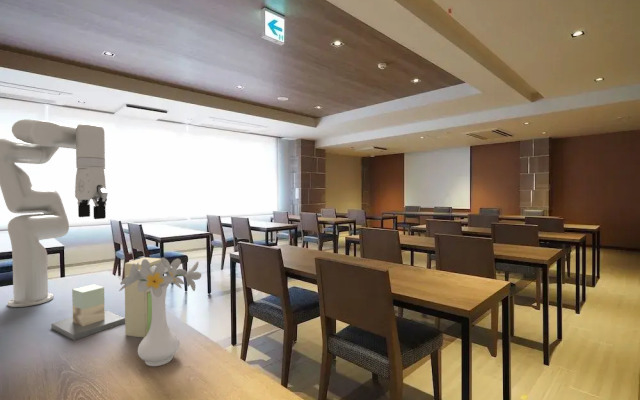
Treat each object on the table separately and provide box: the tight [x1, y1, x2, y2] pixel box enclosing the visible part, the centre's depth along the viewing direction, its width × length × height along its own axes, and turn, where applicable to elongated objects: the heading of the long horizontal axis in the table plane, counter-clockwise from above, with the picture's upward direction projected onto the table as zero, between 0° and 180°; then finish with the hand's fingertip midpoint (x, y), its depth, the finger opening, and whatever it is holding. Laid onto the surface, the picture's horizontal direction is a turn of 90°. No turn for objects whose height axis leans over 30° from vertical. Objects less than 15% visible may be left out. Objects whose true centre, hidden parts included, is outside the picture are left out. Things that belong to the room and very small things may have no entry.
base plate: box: [50, 309, 125, 341], centre depth 102 cm, size 14×14×2 cm
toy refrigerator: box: [123, 256, 164, 338], centre depth 98 cm, size 8×7×21 cm
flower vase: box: [118, 257, 202, 367], centre depth 83 cm, size 13×18×25 cm
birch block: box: [72, 303, 105, 326], centre depth 102 cm, size 6×6×5 cm
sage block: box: [71, 283, 105, 309], centre depth 102 cm, size 6×6×5 cm
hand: (91, 217), depth 107 cm, fingers open, 9 cm apart
